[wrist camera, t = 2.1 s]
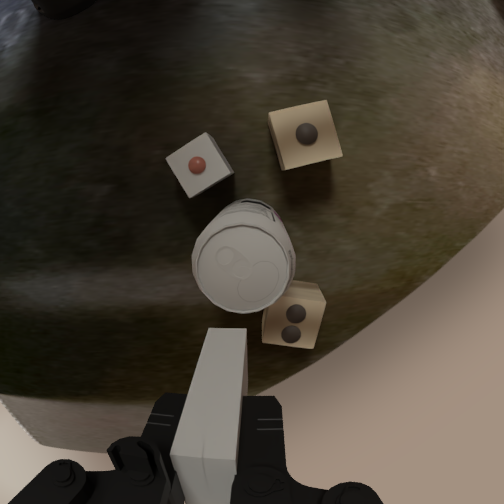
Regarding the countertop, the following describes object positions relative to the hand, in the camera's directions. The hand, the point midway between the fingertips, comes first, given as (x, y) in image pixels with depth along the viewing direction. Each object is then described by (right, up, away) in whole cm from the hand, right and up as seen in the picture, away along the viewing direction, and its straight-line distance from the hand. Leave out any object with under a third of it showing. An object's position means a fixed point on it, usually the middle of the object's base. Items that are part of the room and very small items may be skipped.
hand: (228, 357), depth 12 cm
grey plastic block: (-5, +14, +24) cm, 28 cm away
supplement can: (+1, +7, +26) cm, 27 cm away
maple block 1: (+6, +17, +23) cm, 29 cm away
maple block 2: (+6, -2, +28) cm, 28 cm away
